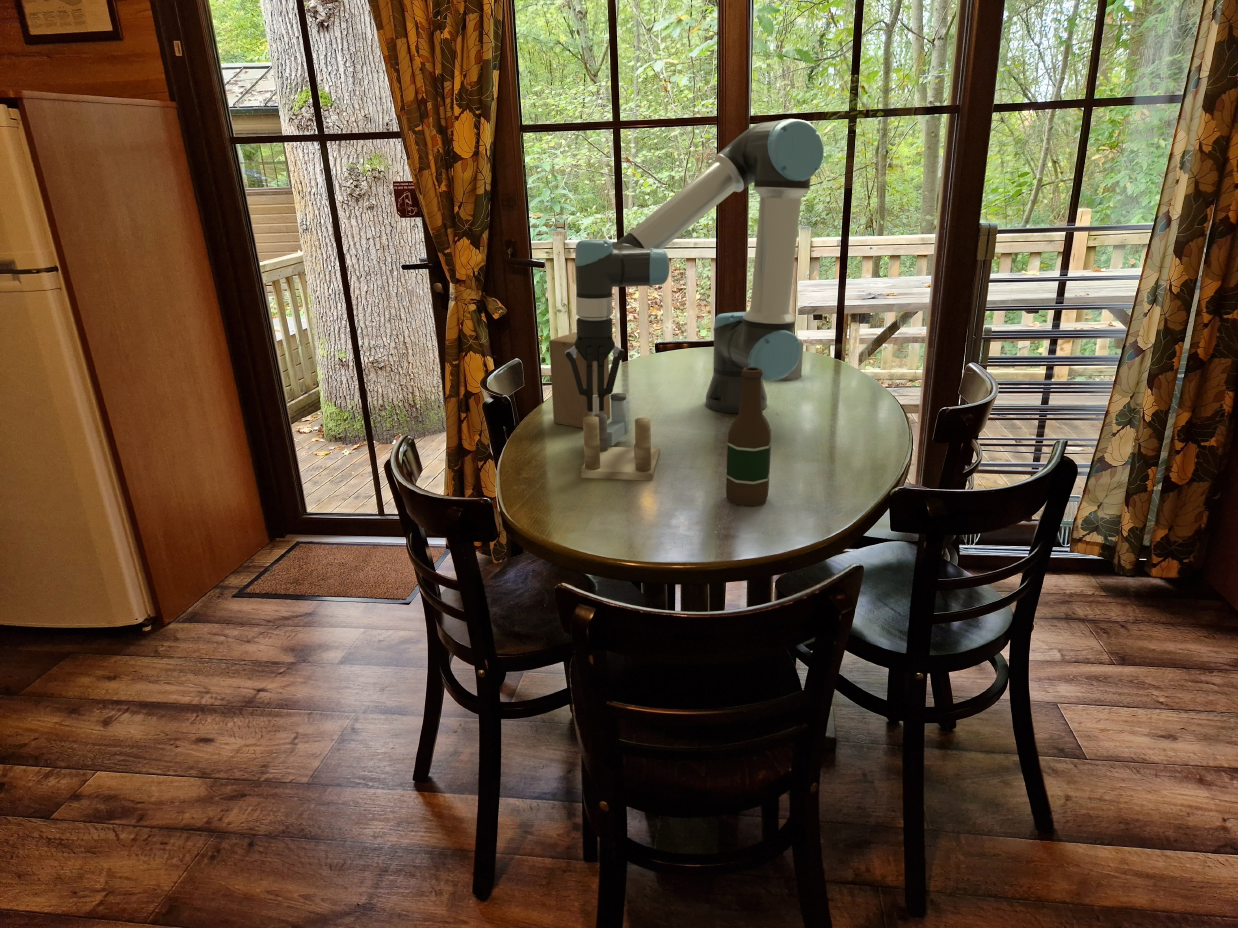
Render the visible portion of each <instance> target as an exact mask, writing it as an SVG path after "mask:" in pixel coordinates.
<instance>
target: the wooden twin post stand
mask: <svg viewBox="0 0 1238 928" xmlns="http://www.w3.org/2000/svg"><path fill="white" fill-rule="evenodd" d="M651 420H652V419H650V418H649V417H637V418H635V419H634V444H633V447H624V446H623V447H621V446H608V438H607V424H608V419H607V415H606V414H595V415H594V416H588V417H584V418H583V428H582V430H583V449H584V450H583V451H584V463H583V465H582V467H581V468H580V478H581V479H599V480H600V479H602V480H606V479H607V480H627V481H628V480H629V481H630V480H631V481H634V480H635V481H653V479H654V477H655V473H656V470H657V468H658V463H659V460H660V458H661V457H660V456H661V448H654V447H652V445H651V444H652V441H651V439H652V438H651V437H652V436H651V434H652V433H651V432H652V430H651V429H652V428H651V427H652V425H651V424H652V423H651V422H652V421H651Z"/></svg>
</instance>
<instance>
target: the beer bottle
mask: <svg viewBox="0 0 1238 928" xmlns="http://www.w3.org/2000/svg"><path fill="white" fill-rule="evenodd" d="M762 375H763V372H762V369H759V368H756V367H748V368H744V369H743V370H742V373H741V376H742V377H743V380H742V390H741V401H740V408H739V413H737V415H736V416H735V418H734V420H733V421H732V423H731V425H730V428H729V431H728V434H727V435H728V436H727V445H726V446H727V449H726V450H727V451H726V485H725V487H726V488H725V491H726V492H725V494H726V495H725V496H726V501H727V502H729V503H732V504H734V506H738V507H739V506H740V507H749V508H753V507H757V506H761V505H765V504H766V502H767V499H768V497H769V489H770V473H771V471H770V470H771V455H772V454H771V450H772V429H771V427H770V424H769V421H768V420H767V418H766V416H765V415H764V412H763V409H762V399H761V377H762Z"/></svg>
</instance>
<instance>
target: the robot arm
mask: <svg viewBox="0 0 1238 928" xmlns="http://www.w3.org/2000/svg"><path fill="white" fill-rule="evenodd" d="M824 150H825V149H824V142H823V140H822V136H821V134H820V132H819V131H818V130H817V129H816V127H815V126H814V125H813V124H811V123H810V122H809V121H806V120H804V119H803V120H802V119H797V118H796V119H795V118H787V119H786V118H785V119H782V120H775V121H774V120H773V121H764V122H760V123H757V124H755V125H753V126H751V127H749V128H748V129H746V130H745V131H744V132H743V133H741V134H740V135H738V137H736V138H735V139H734V140H732V141H731V142H730V143H729V144H728V145H726V147H724V148H722V150H721V151H720V152H718V153H717V154H716V155H715V156H714V159H713V163H712V164H711V165H709V167H707V168H706V169H705V170H704V171H701V173H700V174H699V175H697V176H696V177H695V178H694V179H693V180H692V181H690V182H689V183H688V184H686V185H685V186H684V187H682V188H681V190H679V191H678V192H676V193H675V194H674V195H673V196H672V197H671V198H669V199H668V200H667V201H666V202H665V203H663V204H662V205H661V206H660V207H658V208H656V210H655V211H653V212H652V213H651V214H650V215H648V217H646V218H645V219H644V220H642V221H641V222H640V223H639V224H637V225H636V226H635V227H633V229H632V230H630V231H629V232H628V233H626V234H625V235H623V237H621V238H620V239H619V240H617V241H613V242H612V241H611V240H609V239H594V238H593V239H590V238H589V239H582V240H579V241H578V242H577V243H576V244H575V245H576V246H575V258H574V259H575V260H574V266H575V267H574V268H575V289H576V290H575V291H576V293H575V296H576V297H575V304H576V305H575V306H576V307H575V309H576V310H575V311H576V313H575V314H576V315H577V319H575V320H576V322H575V323H576V333H577V338H576V341H575V343H574V347H572V348H571V349H569V350H566V351H565V355H566V357H567V359H568V360H569V361H570V363H571V367H572V370H573V374H574V377H575V381H576V385H577V388H578V391H579V394H580V395H584V396H586V397H587V410H588V412H592V416H594V415H595V414H599V411H603V410H604V397H605V396H606V395H608V394H610V395H611V394H613V391H614V387H615V383H616V379H617V375H618V371H619V368H620V363H621V361H622V359H623V358H624V356H625V355H626V352H625V350H624V349H623V348H622V347H619V346H617V345H616V342H615V341H614V338H613V318H612V317H611V316H612V315H613V288H621V287H652V286H661V285H664V284H665V283H666V282H667V281H668V279H669V276H670V275H669V274H670V258H669V255H668V253H667V252H666V250H665V249H664V248H666V247H667V246H668V245H669V244H671V243H672V242H673V241H674V240H676V239H677V238H678V237H680V236H681V235H682V234H683V233H684V232H685V231H687V230H688V229H689V228H690V227H692V226H693V225H694V224H696V223H697V222H699V220H700V219H702V218H703V217H704V216H705V215H707V214H708V213H709V212H710V211H712V210H713V209H714V208H715V207H716V206H718V205H719V204H720V203H722V202H723V201H724V200H725V199H726V198H728V197H729V196H730V195H731V194H733V192H735V193H736V192H737V193H741V192H742V191H743V190H744V189H746V188H747V187H749V186H750V185H752V184H753V183H754V184H753V189H754V190H755V191H756V192H757V194H758V196H759V207H758V208H759V209H758V216H757V217H758V220H757V229H756V230H757V231H756V240H755V241H756V242H755V253H754V263H753V275H752V276H753V277H752V284H751V285H752V286H751V297H750V299H751V300H750V307H749V309H748V311H737V312H736V311H734V312H726V313H719V314H717V315H716V317H715V319H714V326H713V373H712V377H711V379H710V383H709V386H708V389H707V392H706V395H705V405H706V407H707V408H708V409H710V410H712V411H716V412H721V413H727V414H728V413H729V414H738V413H739V408H740V401H741V390H742V380H743V377H742V376H741V373H742V370H743V369H744V368H748V367H756V368H759V369H762V372H763V375H762V377H761V399H762V410H765V408H767V407H768V395H767V392H766V389H765V385H764V381H763V380H766V381H780V380H779V379H781V378H784V377H785V376H787V375H788V374H789V373H790V372H791V371H793V370H794V369H795V367H796V366H797V364H798V362H799V360H800V356H801V344H800V342H799V340H798V339H799V338H798V337H797V335H796V334H795V324H796V319H795V317H794V316H793V315H792V314H791V312H790V307H791V305H790V304H791V297H792V289H793V287H792V286H793V278H794V269H795V268H794V267H795V258H796V250H797V249H796V247H797V239H798V231H799V222H800V221H799V219H800V214H801V213H800V211H801V202H802V201H801V200H802V198H803V197H804V196H805V195H806V194H807V193H808V192H809V191H810V186H811V179H812V178H811V177H813V176H814V175H815V174H816V172H817V171H818V170H819V169H820V167H821V166H822V163H823V160H824V154H825V151H824ZM577 351H578V352H579V354H580V355H581V356H582V358H583V359H584V360H585V362H586V389H584V388H583V384H582V381H581V377H580V374H579V370H578V366H577V363H576V360H575V358H576V357H577V355H576V352H577ZM611 353H612V356H613V357H612V361H611V364H610V365H611V366H610V368H609V377H608V381H607V385H606V388H604V360H606V358H607V357H608V356H609V355H610V354H611ZM609 357H610V356H609ZM594 361H597V393H598V395H593V362H594Z"/></svg>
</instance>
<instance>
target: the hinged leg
mask: <svg viewBox="0 0 1238 928" xmlns="http://www.w3.org/2000/svg"><path fill="white" fill-rule="evenodd" d="M610 418H611V421H610V422H607V438H608V447H614V445H615V444H617V443H618V441H620V440H621V439H622V438H623V437H625V436H626V435H627V434H628V433H629V431H630V430H629V429H630V428H629V427H630V424H629V423H630V422H629V418H627V393H624V392H623V393H622V392H614V393H613V392H612V393H611V394H610Z"/></svg>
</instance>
